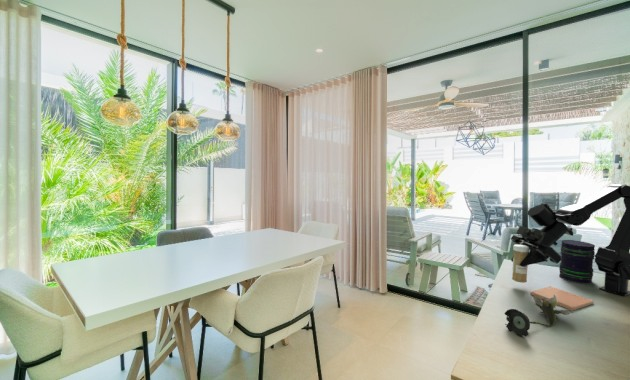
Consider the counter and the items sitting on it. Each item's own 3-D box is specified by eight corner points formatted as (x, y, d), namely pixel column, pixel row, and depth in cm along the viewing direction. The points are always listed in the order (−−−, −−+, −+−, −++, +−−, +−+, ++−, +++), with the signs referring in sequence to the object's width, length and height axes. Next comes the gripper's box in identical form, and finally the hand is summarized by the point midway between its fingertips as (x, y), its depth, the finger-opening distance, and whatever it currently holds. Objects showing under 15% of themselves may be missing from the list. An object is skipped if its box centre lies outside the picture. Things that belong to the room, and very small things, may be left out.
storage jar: (557, 278, 109) (559, 242, 108) (560, 272, 116) (562, 238, 115) (592, 286, 102) (595, 247, 101) (593, 279, 108) (595, 243, 107)
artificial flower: (496, 329, 76) (492, 292, 78) (551, 326, 82) (545, 292, 84) (529, 339, 67) (523, 297, 70) (587, 334, 74) (580, 296, 76)
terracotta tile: (550, 288, 99) (550, 286, 99) (593, 303, 88) (593, 300, 88) (530, 294, 95) (530, 291, 95) (572, 310, 84) (573, 307, 83)
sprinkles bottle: (521, 283, 97) (523, 247, 96) (508, 279, 101) (510, 244, 100) (530, 282, 98) (532, 246, 97) (517, 277, 103) (519, 243, 102)
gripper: (516, 215, 107) (486, 241, 109) (553, 224, 89) (517, 256, 90) (536, 234, 107) (506, 261, 109) (577, 247, 89) (541, 279, 90)
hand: (516, 263), depth 100 cm, fingers closed on sprinkles bottle, 4 cm apart
